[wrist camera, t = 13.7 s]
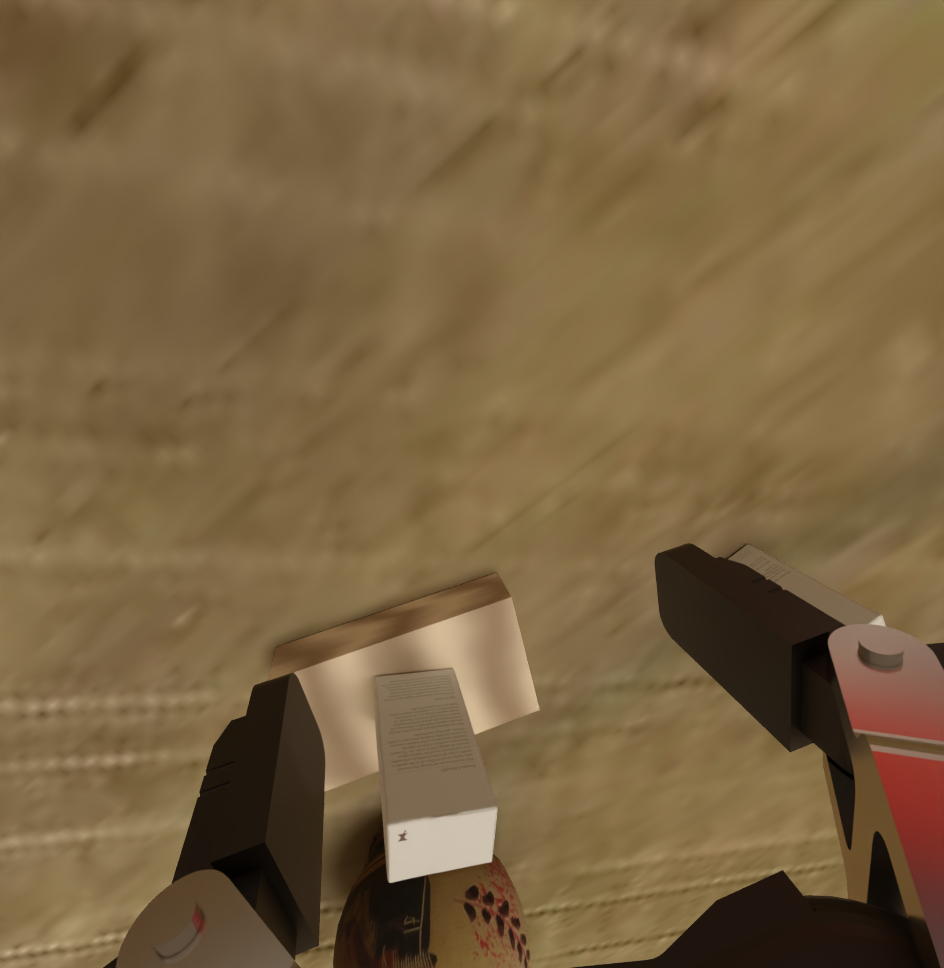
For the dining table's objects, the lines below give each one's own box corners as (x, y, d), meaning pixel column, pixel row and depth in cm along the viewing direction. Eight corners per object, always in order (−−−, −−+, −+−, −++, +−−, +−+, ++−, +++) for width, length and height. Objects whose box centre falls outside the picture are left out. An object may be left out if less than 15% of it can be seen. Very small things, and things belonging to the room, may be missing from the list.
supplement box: (713, 640, 49) (828, 740, 37) (683, 587, 46) (797, 677, 34) (775, 595, 49) (909, 681, 37) (749, 540, 46) (885, 614, 35)
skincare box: (374, 722, 38) (384, 886, 27) (374, 674, 37) (384, 825, 26) (453, 713, 40) (494, 865, 28) (456, 666, 38) (499, 806, 27)
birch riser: (324, 752, 43) (321, 792, 39) (275, 647, 39) (268, 681, 35) (524, 678, 45) (539, 709, 41) (496, 572, 41) (511, 597, 38)
